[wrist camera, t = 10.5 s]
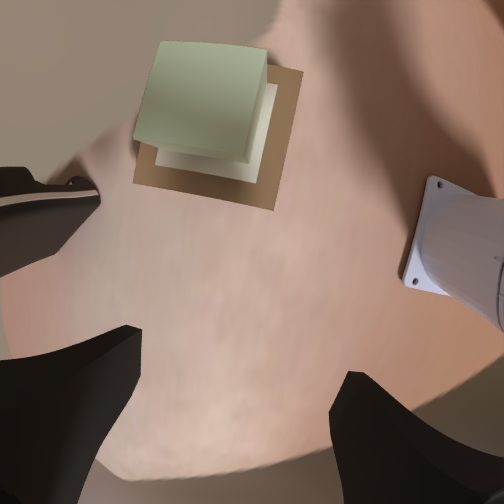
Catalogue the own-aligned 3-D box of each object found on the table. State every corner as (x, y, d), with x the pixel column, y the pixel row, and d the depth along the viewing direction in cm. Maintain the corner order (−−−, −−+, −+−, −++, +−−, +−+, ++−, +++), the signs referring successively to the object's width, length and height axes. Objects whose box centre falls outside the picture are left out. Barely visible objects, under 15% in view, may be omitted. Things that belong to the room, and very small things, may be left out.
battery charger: (82, 160, 18) (-43, 155, 7) (107, 200, 19) (-21, 221, 7) (34, 219, 19) (-74, 248, 8) (55, 256, 20) (-52, 304, 9)
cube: (266, 85, 14) (267, 49, 9) (249, 164, 15) (243, 155, 10) (186, 75, 14) (160, 41, 9) (167, 150, 15) (132, 139, 10)
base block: (298, 88, 16) (303, 71, 13) (272, 207, 18) (273, 211, 15) (178, 70, 16) (164, 52, 13) (151, 183, 18) (131, 183, 15)
